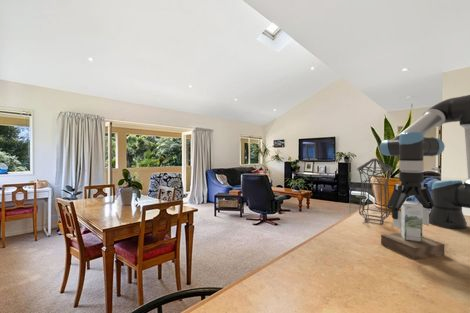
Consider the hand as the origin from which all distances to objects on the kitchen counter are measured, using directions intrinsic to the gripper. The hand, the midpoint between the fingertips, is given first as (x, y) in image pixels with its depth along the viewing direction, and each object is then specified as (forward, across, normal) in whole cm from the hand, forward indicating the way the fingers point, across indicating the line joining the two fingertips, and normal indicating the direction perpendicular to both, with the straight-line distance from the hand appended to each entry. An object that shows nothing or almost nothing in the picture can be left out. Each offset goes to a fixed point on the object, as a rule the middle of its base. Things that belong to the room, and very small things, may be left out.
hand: (410, 225), depth 90 cm
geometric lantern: (+9, -16, -33) cm, 38 cm away
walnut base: (+9, 0, 0) cm, 9 cm away
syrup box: (+5, 0, 0) cm, 5 cm away
